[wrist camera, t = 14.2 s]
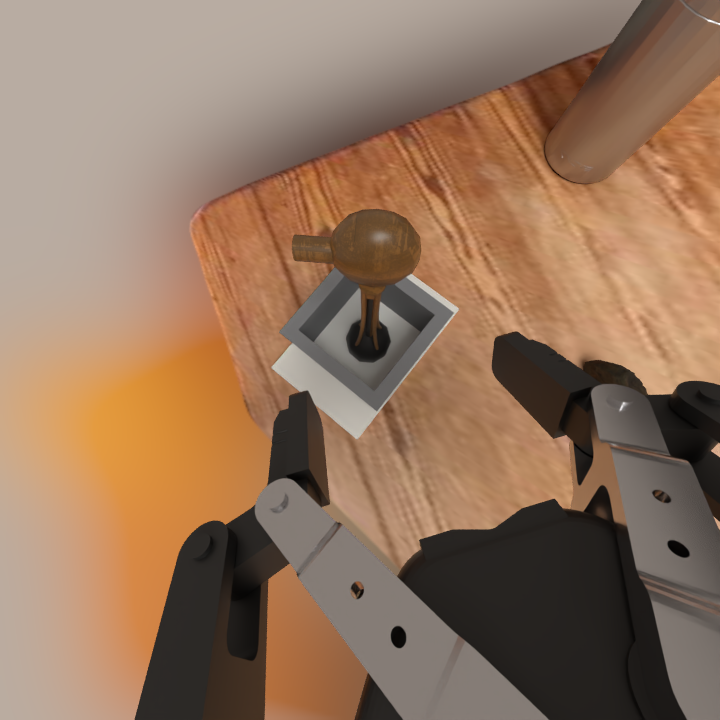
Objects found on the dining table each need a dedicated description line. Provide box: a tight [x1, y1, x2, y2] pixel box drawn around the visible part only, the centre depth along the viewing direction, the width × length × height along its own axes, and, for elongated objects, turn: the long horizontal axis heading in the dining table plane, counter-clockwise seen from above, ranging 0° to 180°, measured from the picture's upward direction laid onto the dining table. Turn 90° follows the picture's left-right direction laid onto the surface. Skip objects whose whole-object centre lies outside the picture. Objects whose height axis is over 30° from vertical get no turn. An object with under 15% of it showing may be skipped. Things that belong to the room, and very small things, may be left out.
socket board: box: [271, 268, 459, 439], centre depth 27 cm, size 18×12×8 cm, turn 141°
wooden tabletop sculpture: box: [292, 209, 421, 363], centre depth 20 cm, size 6×5×20 cm
